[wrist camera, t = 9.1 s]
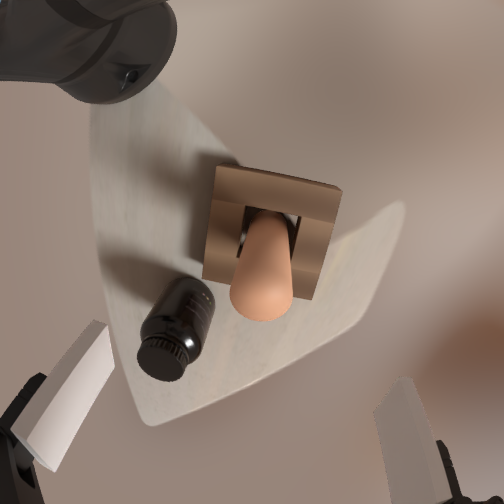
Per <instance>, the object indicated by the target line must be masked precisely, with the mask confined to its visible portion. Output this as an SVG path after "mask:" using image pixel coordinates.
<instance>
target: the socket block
mask: <svg viewBox="0 0 504 504" xmlns="http://www.w3.org/2000/svg"><path fill="white" fill-rule="evenodd" d="M341 196H342V191H341V190H340V189H339V188H338V187H336V186H334V185H329V184H325V183H321V182H317V181H311V180H308V179H303V178H299V177H294V176H290V175H284V174H280V173H275V172H270V171H264V170H259V169H254V168H248V167H243V166H237V165H231V164H225V163H222V164H220V165H218V166H217V167H216V173H215V180H214V187H213V194H212V201H211V208H210V215H209V223H208V231H207V238H206V247H205V255H204V264H203V272H202V279H205V280H209V281H214V282H219V283H224V284H229V285H231V284H232V280H233V277H234V274H235V271H236V267H237V264H238V261H239V258H240V255H241V251H242V248H243V247H240V242H241V237H242V231H243V225H244V220H245V214H246V208H247V206H252V207H257V208H262V209H267V210H272V211H277V212H282V213H287V214H292V215H296V216H298V219H297V223H296V228H295V232H294V236H293V240H292V244H291V248H290V263H291V276H292V289H293V297H296V298H302V299H307V300H312V298H313V294H314V291H315V288H316V285H317V282H318V279H319V275H320V272H321V269H322V265H323V262H324V259H325V255H326V252H327V248H328V245H329V241H330V238H331V234H332V230H333V227H334V223H335V220H336V216H337V212H338V208H339V204H340V200H341Z"/></svg>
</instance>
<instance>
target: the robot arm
mask: <svg viewBox="0 0 504 504" xmlns="http://www.w3.org/2000/svg"><path fill="white" fill-rule="evenodd" d="M166 1H168V0H0V81H23V82H24V81H25V82H40V83H53V84H56V85H57V86H59V87H60V88H61V89H63V90H64V91H66V92H67V93H68V94H70V95H71V96H72V97H74V98H75V99H77V100H80V101H83V102H86V103H91V104H114V103H118V102H121V101H124V100H126V99H128V98H130V97H132V96H134V95H136V94H137V93H139V92H140V91H142V90H143V89H144V88H145V87H147V86H148V85H149V84H150V83H151V82H152V81H153V80H154V79H155V78H156V77H157V76H158V74H159V73H160V72H161V71H162V69H163V68H164V66H165V64H166V63H167V61H168V60H169V58H170V56H171V53H172V51H173V48H174V45H175V42H176V36H177V22H176V17H175V14H174V12H173V10H172V8H171V7H170V6H169V5H168V3H167V2H166ZM114 367H115V365H114V360H113V354H112V349H111V344H110V338H109V332H108V325H107V324H105V323H102V322H99V321H96V320H93V321H92V322H91V323H90V324H89V325H88V327H87V328H86V329H85V330H84V331H83V333H82V334H81V335H80V336H79V337H78V339H77V340H76V341H75V342H74V344H73V345H72V346H71V347H70V348H69V350H68V351H67V352H66V354H65V355H64V356H63V357H62V359H61V360H60V361H59V362H58V364H57V365H56V366H55V367H54V369H53V370H52V372H51V373H50V374H49V375H48V376H46V375H44V374H42V373H38V374H36V375H35V376H33V377H31V378H30V379H29V380H28V382H27V383H26V384H25V385H24V387H23V389H21V391H20V392H19V393H18V396H16V397H15V399H14V400H13V401H12V403H11V404H10V406H9V407H8V408H7V409H6V411H5V412H4V414H3V415H2V417H1V418H0V504H45V503H44V500H43V497H42V494H41V490H40V487H39V484H38V480H37V476H36V472H35V468H34V465H33V463H32V461H33V460H34V458H35V459H36V460H37V461H38V462H39V463H40V464H41V465H43V466H45V467H46V468H48V469H50V470H51V471H53V472H56V470H57V468H58V466H59V464H60V463H61V460H62V459H63V457H64V455H65V453H66V451H67V449H68V447H69V445H70V444H71V442H72V440H73V438H74V436H75V434H76V433H77V431H78V429H79V427H80V425H81V424H82V422H83V420H84V418H85V416H86V415H87V413H88V411H89V409H90V408H91V406H92V404H93V402H94V401H95V399H96V397H97V396H98V394H99V392H100V390H101V389H102V387H103V385H104V384H105V382H106V380H107V379H108V377H109V375H110V374H111V372H112V371H113V369H114ZM373 413H374V417H375V422H376V426H377V430H378V435H379V439H380V444H381V448H382V453H383V458H384V463H385V468H386V473H387V479H388V484H389V490H390V496H391V502H392V504H504V502H503V499H502V498H501V497H499V496H493V497H491V498H490V499H489V500H487V501H481V502H472V500H471V499H470V498H468V497H465V496H463V495H462V494H461V491H460V487H459V484H458V480H457V477H456V474H455V470H454V467H452V466H453V464H452V461H451V460H450V455H449V452H448V449H447V447H446V446H445V445H444V443H443V442H442V441H441V440H438V441H435V438H434V435H433V432H432V429H431V427H430V424H429V421H428V418H427V415H426V413H425V410H424V408H423V405H422V402H421V400H420V397H419V395H418V392H417V390H416V387H415V385H414V382H413V380H412V378H411V377H398V378H397V380H396V381H395V383H394V384H393V386H392V387H391V389H390V390H389V391H388V393H387V394H386V396H385V397H384V399H383V400H382V401H381V403H380V404H379V405H378V407H377V408H376V409H375V411H374V412H373Z"/></svg>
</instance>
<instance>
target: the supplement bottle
mask: <svg viewBox="0 0 504 504" xmlns="http://www.w3.org/2000/svg"><path fill="white" fill-rule="evenodd" d="M214 311H215V299H214V296H213V294H212V292H211V291H210V290H209V288H208V287H207V286H206V285H204V284H203V283H201V282H200V281H198V280H195V279H192V278H179V279H176V280H173V281H172V282H170V283H169V284H168V285H167V286H166V288H165V289H164V291H163V292H162V294H161V295H160V297H159V298H158V300H157V301H156V303H155V304H154V306H153V308H152V309H151V311H150V312H149V314H148V315H147V317H146V319H145V320H144V322H143V324H142V326H141V330H140V336H141V341H142V343H141V347H140V349H139V350H138V353H137V360H138V363H139V366H140V367H141V369H142V370H144V372H145V373H147V374H148V375H150V376H151V377H153V378H155V379H158V380H160V381H167V382H170V381H172V382H173V381H176V380H177V379H180V377H182V375H183V374H184V371H185V368H186V367H187V365H188V364H191V363H192V362H194V361H195V360H196V359H197V358H198V357H199V356H200V354H201V352H202V349H203V346H204V343H205V340H206V337H207V333H208V330H209V327H210V324H211V321H212V318H213V314H214Z"/></svg>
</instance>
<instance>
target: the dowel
mask: <svg viewBox="0 0 504 504" xmlns="http://www.w3.org/2000/svg"><path fill="white" fill-rule="evenodd" d="M292 299H293V289H292V276H291V263H290V252H289V240H288V229H287V223H286V220H285V218H284V217H283V216H282V215H281V214H280V213H278V212H277V211H272V210H263V211H260V212H258V213H257V214H256V215H255V216H254V217H253V218H252V220H251V223H250V226H249V229H248V232H247V236H246V239H245V242H244V245H243V248H242V251H241V255H240V258H239V261H238V264H237V267H236V271H235V274H234V277H233V280H232V284H231V287H230V300H231V302H232V305H233V306H234V308H235V309H236V310H237V311H238V312H239V313H240V314H241V315H243V316H244V317H246V318H248V319H251V320H255V321H270V320H273V319H276V318H278V317H280V316H282V315H283V314H284V313H285V312H286V311H287V310H288V309H289V307H290V305H291V303H292Z"/></svg>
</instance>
